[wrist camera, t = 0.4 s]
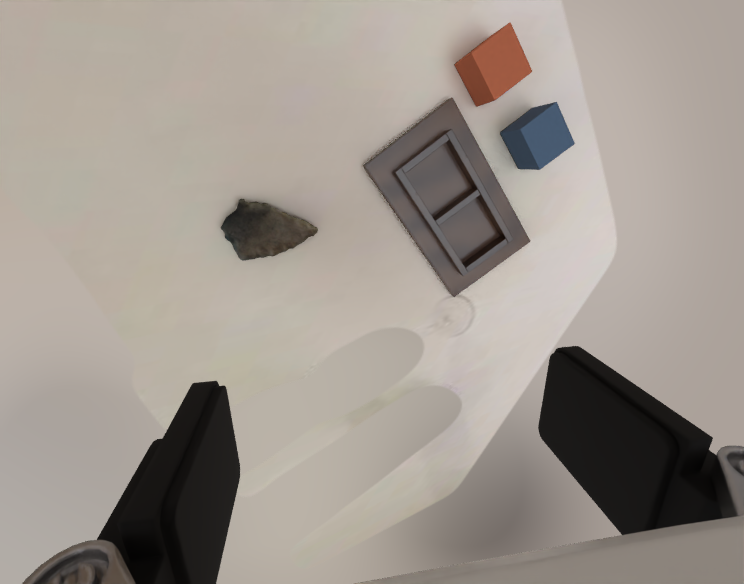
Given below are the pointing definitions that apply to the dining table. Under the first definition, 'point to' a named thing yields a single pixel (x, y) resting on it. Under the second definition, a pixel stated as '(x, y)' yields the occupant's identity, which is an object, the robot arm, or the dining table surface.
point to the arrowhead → (264, 230)
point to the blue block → (537, 137)
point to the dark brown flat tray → (448, 198)
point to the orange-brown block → (494, 66)
